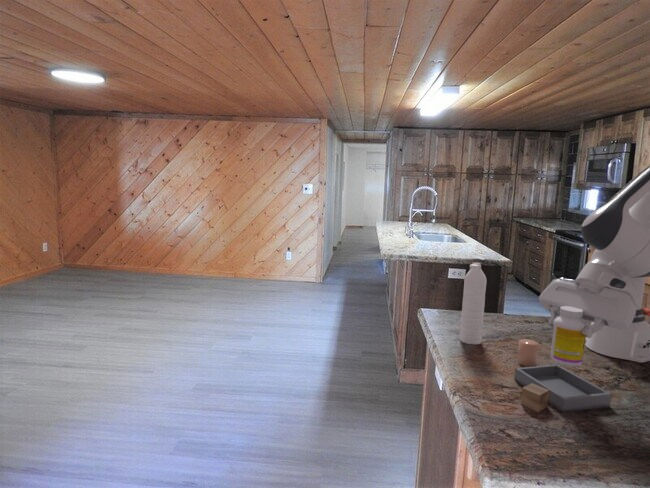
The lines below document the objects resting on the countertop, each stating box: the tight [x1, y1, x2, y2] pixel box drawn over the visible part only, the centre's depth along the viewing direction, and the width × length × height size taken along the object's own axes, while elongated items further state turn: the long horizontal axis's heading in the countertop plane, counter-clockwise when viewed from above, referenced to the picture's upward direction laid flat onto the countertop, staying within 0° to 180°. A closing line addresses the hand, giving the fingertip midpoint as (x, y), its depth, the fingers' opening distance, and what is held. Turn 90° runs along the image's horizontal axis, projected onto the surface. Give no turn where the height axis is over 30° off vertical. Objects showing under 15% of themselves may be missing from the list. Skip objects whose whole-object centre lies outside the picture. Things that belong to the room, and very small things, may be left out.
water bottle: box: [459, 262, 487, 345], centre depth 133 cm, size 9×6×25 cm
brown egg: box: [516, 338, 540, 367], centre depth 119 cm, size 5×5×6 cm
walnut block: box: [520, 383, 549, 413], centre depth 97 cm, size 4×4×4 cm
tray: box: [514, 363, 612, 413], centre depth 103 cm, size 13×16×3 cm
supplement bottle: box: [549, 306, 587, 367], centre depth 101 cm, size 7×7×13 cm
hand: (568, 330), depth 100 cm, fingers closed on supplement bottle, 7 cm apart
